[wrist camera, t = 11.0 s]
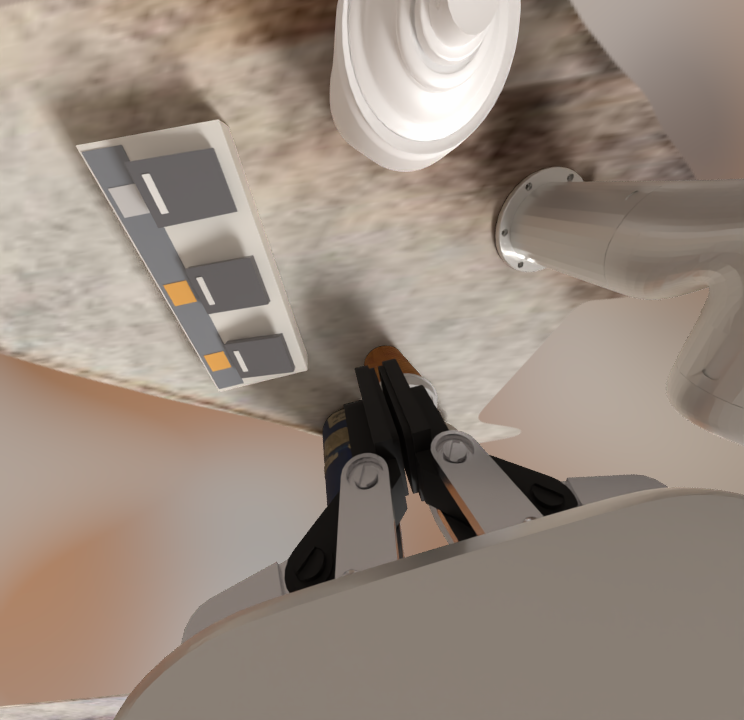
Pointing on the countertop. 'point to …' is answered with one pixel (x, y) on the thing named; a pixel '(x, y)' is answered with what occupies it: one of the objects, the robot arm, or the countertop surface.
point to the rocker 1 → (182, 186)
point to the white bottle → (418, 74)
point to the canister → (335, 451)
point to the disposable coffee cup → (408, 370)
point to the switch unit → (199, 245)
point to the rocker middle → (228, 284)
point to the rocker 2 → (260, 355)
